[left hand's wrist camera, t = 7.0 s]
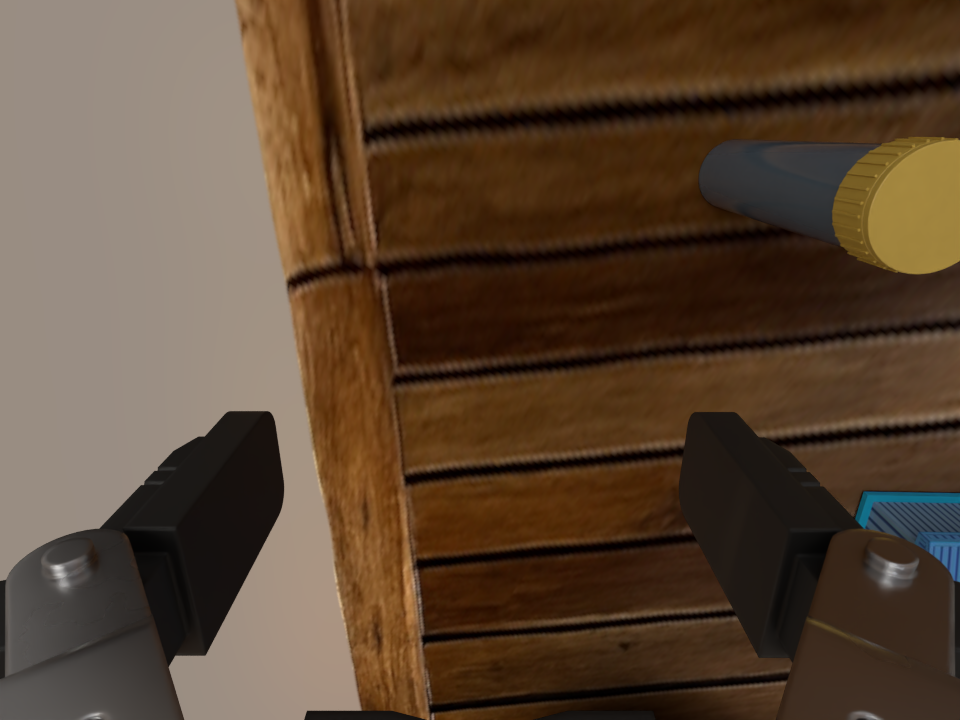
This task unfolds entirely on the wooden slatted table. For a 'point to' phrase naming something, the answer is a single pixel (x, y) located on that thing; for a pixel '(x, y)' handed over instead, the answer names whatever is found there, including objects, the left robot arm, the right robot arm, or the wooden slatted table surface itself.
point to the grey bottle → (781, 181)
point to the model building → (917, 521)
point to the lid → (902, 206)
